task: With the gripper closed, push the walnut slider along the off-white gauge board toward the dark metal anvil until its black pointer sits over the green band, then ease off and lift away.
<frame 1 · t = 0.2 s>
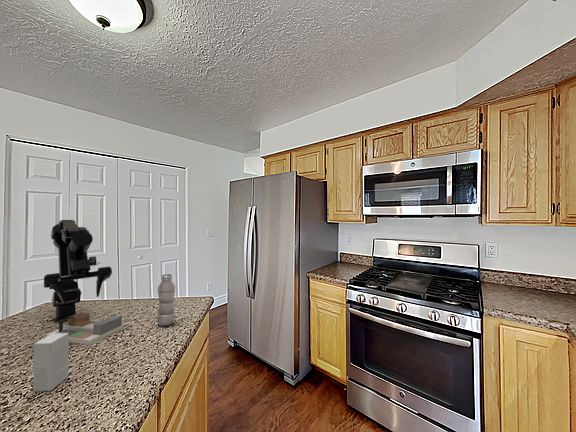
hand: (81, 299, 91), 14 cm above the countertop, tool tilted 30°, fingers open, 9 cm apart
gauge base: (86, 333, 97), on the countertop
skincare box: (51, 385, 67), on the countertop
plastic bottle: (166, 325, 106), on the countertop
slider: (72, 322, 97), point 4 cm above the countertop, slide at 0.0 cm
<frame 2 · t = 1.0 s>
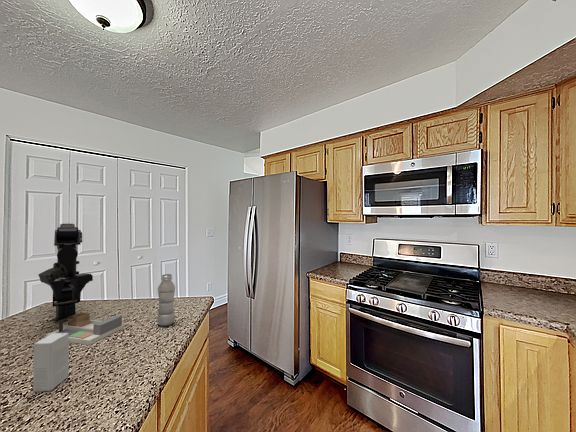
hand: (66, 299, 101), 11 cm above the countertop, tool pointing down, fingers open, 8 cm apart
nothing on the countertop moved.
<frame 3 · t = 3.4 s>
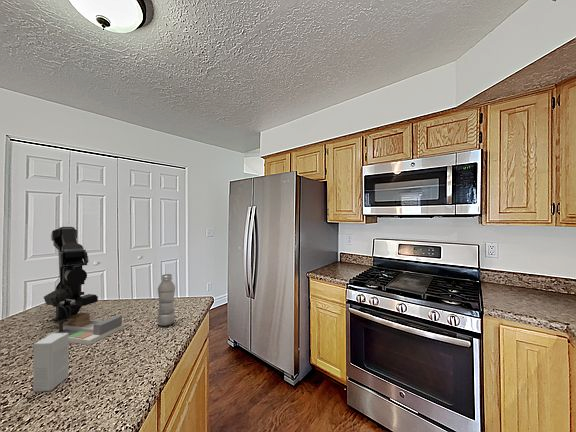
hand: (71, 320, 101), 3 cm above the countertop, tool pointing down, fingers closed
slider: (72, 322, 97), point 4 cm above the countertop, slide at 0.0 cm, touching gripper
everything else where it was.
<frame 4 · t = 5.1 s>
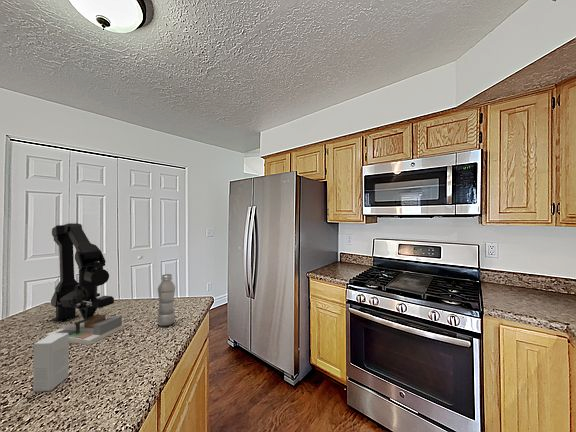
hand: (87, 322, 99), 3 cm above the countertop, tool pointing down, fingers closed
slider: (88, 324, 96), point 4 cm above the countertop, slide at 7.5 cm, touching gripper
everything else where it was.
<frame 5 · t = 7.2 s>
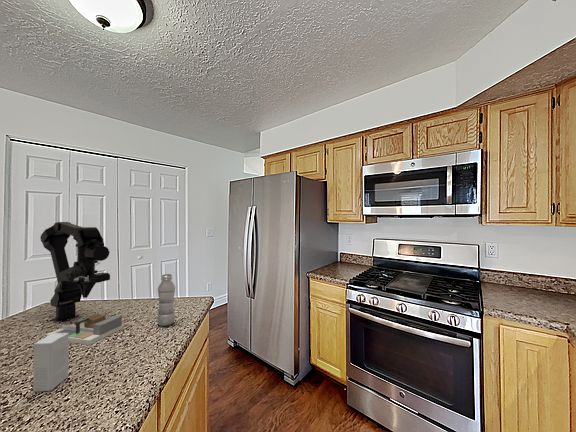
hand: (85, 297, 105), 11 cm above the countertop, tool pointing down, fingers closed
slider: (88, 324, 96), point 4 cm above the countertop, slide at 7.6 cm
everything else where it was.
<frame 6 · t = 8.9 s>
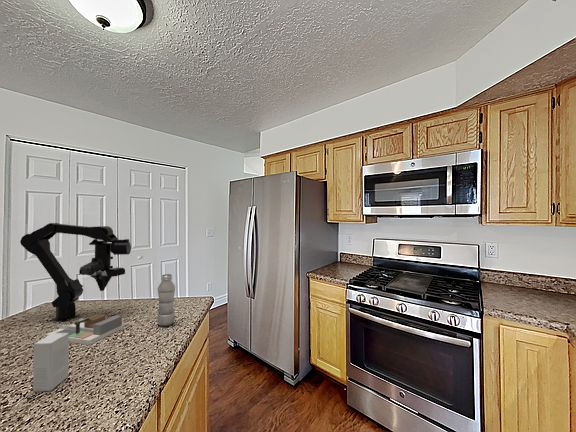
hand: (102, 290, 114), 11 cm above the countertop, tool pointing down, fingers closed
nothing on the countertop moved.
at the end: slider slide at 7.6 cm; the gripper is holding nothing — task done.
